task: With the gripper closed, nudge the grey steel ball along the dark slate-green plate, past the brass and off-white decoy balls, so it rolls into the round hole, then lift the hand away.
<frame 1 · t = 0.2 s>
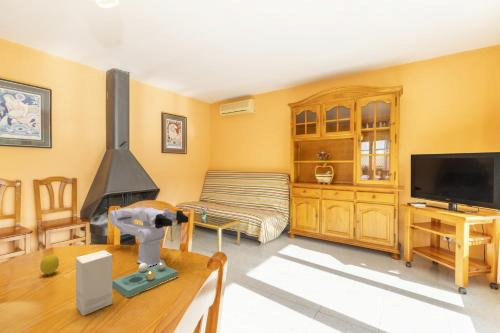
hand: (179, 221, 96), 21 cm above the table, tool horizontal, fingers open, 7 cm apart
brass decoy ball: (150, 275, 87), point 4 cm above the table, touching bearing plate
steel ball: (161, 266, 95), point 4 cm above the table, touching bearing plate
skincare box: (94, 307, 75), on the table
lemon: (49, 275, 95), on the table
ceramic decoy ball: (143, 267, 94), point 4 cm above the table, touching bearing plate
bearing plate: (146, 282, 90), on the table
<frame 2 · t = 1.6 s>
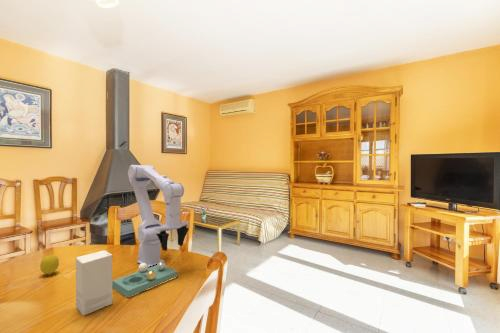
hand: (172, 247, 99), 10 cm above the table, tool pointing down, fingers open, 7 cm apart
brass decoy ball: (151, 275, 87), point 4 cm above the table, tilted 8°, touching bearing plate
everything else where it was.
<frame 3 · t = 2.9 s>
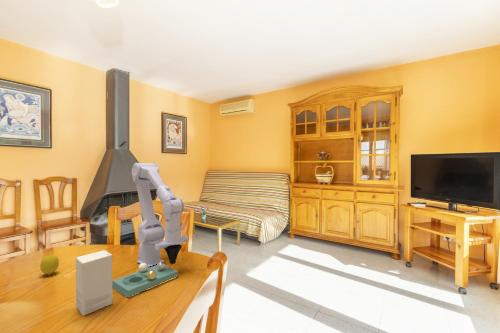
hand: (172, 263, 99), 4 cm above the table, tool pointing down, fingers closed
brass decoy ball: (151, 275, 87), point 4 cm above the table, tilted 13°, touching bearing plate
everything else where it was.
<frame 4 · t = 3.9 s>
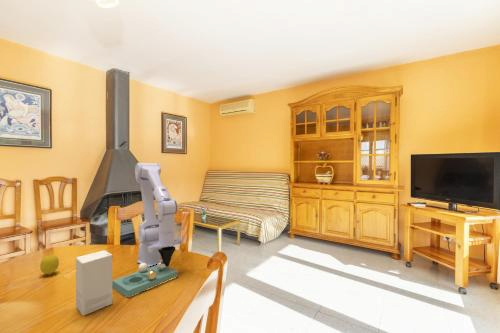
hand: (166, 265, 97), 4 cm above the table, tool pointing down, fingers closed, pressing on steel ball
steel ball: (161, 266, 95), point 4 cm above the table, touching bearing plate, gripper
everything else where it was.
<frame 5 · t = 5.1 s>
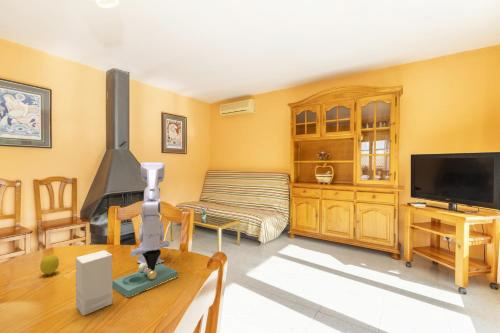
hand: (151, 270, 91), 4 cm above the table, tool pointing down, fingers closed, pressing on steel ball
steel ball: (148, 271, 91), point 4 cm above the table, tilted 157°, touching bearing plate, gripper
everything else where it was.
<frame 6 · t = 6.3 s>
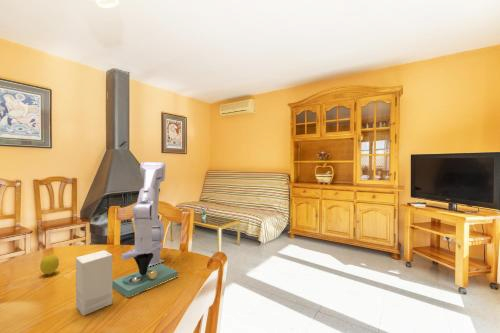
hand: (143, 274, 89), 4 cm above the table, tool pointing down, fingers closed
steel ball: (136, 281, 88), point 2 cm above the table, tilted 8°
everything else where it was.
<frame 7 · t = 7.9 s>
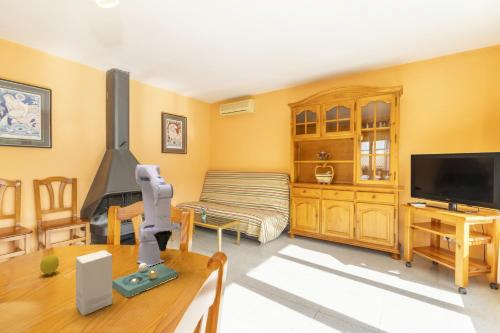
hand: (162, 250, 96), 10 cm above the table, tool pointing down, fingers closed
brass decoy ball: (152, 274, 88), point 4 cm above the table, tilted 33°, touching bearing plate
steel ball: (134, 282, 87), point 2 cm above the table, tilted 29°
everything else where it was.
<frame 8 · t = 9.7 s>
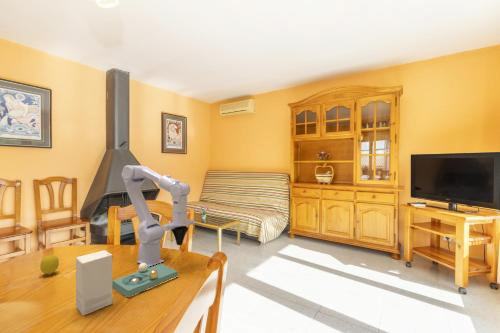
hand: (179, 244, 103), 10 cm above the table, tool pointing down, fingers closed
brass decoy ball: (153, 274, 88), point 4 cm above the table, tilted 41°, touching bearing plate
steel ball: (134, 282, 87), point 2 cm above the table, tilted 23°
everything else where it was.
at the end: steel ball 0.4 cm from the target spot in the bearing plate, point 1.6 cm above the bearing plate's base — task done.
